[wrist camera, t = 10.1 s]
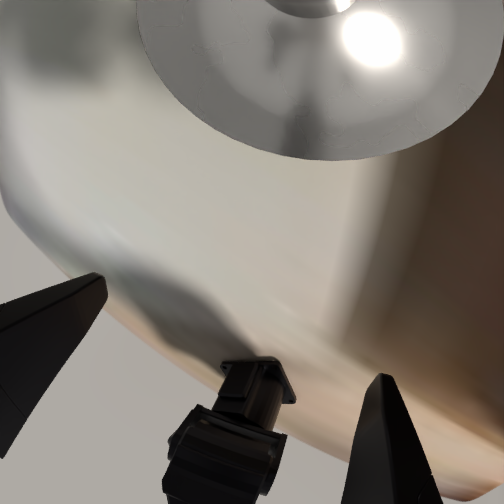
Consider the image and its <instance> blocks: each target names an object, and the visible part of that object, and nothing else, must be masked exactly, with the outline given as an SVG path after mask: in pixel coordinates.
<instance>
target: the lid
mask: <svg viewBox="0 0 504 504" xmlns="http://www.w3.org/2000/svg"><path fill="white" fill-rule="evenodd" d="M136 5H137V20H138V25H139V31H140V36H141V39H142V42H143V45H144V48H145V51H146V53H147V55H148V57H149V59H150V61H151V63H152V65H153V67H154V69H155V71H156V73H157V74H158V76H159V77H160V78H161V80H162V81H163V83H164V84H165V86H166V87H167V88H168V89H169V91H170V92H171V93H172V94H173V95H174V96H175V97H176V98H177V99H178V101H179V102H180V103H181V104H183V105H184V106H185V107H186V108H187V109H188V110H189V111H191V112H192V113H193V114H194V115H195V116H196V117H198V118H199V119H201V120H202V121H204V122H205V123H207V124H208V125H209V126H211V127H212V128H214V129H215V130H217V131H219V132H221V133H223V134H225V135H227V136H229V137H231V138H232V139H234V140H237V141H239V142H242V143H244V144H247V145H249V146H252V147H254V148H257V149H260V150H264V151H267V152H271V153H275V154H278V155H282V156H288V157H295V158H301V159H307V160H326V161H339V160H357V159H364V158H369V157H375V156H381V155H386V154H389V153H392V152H395V151H399V150H402V149H405V148H409V147H411V146H413V145H415V144H417V143H420V142H422V141H424V140H426V139H428V138H431V137H432V136H434V135H435V134H437V133H439V132H440V131H442V130H443V129H445V128H446V127H448V126H450V125H451V124H452V123H453V122H455V121H456V120H457V119H458V118H459V117H460V116H461V115H463V114H464V113H465V112H466V111H467V110H468V109H469V108H470V107H471V106H472V104H473V103H474V102H475V101H476V100H477V98H478V97H479V96H480V95H481V93H482V92H483V90H484V89H485V87H486V85H487V84H488V82H489V80H490V78H491V76H492V75H493V73H494V70H495V67H496V64H497V62H498V59H499V56H500V52H501V47H502V41H503V35H504V10H503V4H502V0H136Z"/></svg>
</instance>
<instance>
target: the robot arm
mask: <svg viewBox="0 0 504 504" xmlns="http://www.w3.org/2000/svg"><path fill="white" fill-rule="evenodd" d="M107 298H108V291H107V286H106V280H105V277H104V276H103V275H100V274H98V273H96V272H93V273H89V274H86V275H83V276H80V277H78V278H75V279H72V280H69V281H66V282H63V283H60V284H57V285H54V286H51V287H48V288H45V289H43V290H40V291H37V292H34V293H31V294H29V295H26V296H23V297H20V298H17V299H14V300H12V301H9V302H7V303H6V304H5V303H3V304H0V458H1V459H3V458H4V457H5V455H6V453H7V451H8V450H9V448H10V447H11V445H12V443H13V441H14V440H15V438H16V437H17V435H18V433H19V432H20V430H21V428H22V427H23V425H24V424H25V422H26V420H27V418H28V417H29V416H30V414H31V412H32V411H33V409H34V408H35V406H36V405H37V403H38V402H39V400H40V399H41V397H42V396H43V394H44V393H45V391H46V390H47V388H48V387H49V385H50V384H51V383H52V381H53V380H54V378H55V377H56V375H57V374H58V372H59V371H60V370H61V368H62V367H63V365H64V364H65V363H66V361H67V360H68V358H69V357H70V355H71V354H72V353H73V351H74V350H75V349H76V347H77V346H78V345H79V343H80V342H81V340H82V339H83V338H84V336H85V335H86V333H87V332H88V330H89V329H90V327H91V325H92V324H93V322H94V320H95V319H96V317H97V315H98V314H99V312H100V310H101V309H102V307H103V306H104V304H105V303H106V301H107ZM220 367H221V369H222V371H223V372H224V374H225V376H226V378H225V380H224V382H223V384H222V386H221V388H220V390H219V392H218V398H217V400H216V402H215V404H214V406H213V407H212V410H209V409H207V408H204V407H203V406H202V405H199V404H197V405H196V407H195V408H194V409H193V410H191V411H190V413H189V414H188V416H187V417H186V418H185V420H184V421H183V422H182V424H181V425H180V427H179V428H178V429H177V430H176V431H175V432H174V433H173V434H172V435H171V436H170V437H169V439H168V444H169V446H170V447H169V452H168V460H170V464H169V466H168V468H167V471H166V473H165V475H164V477H163V479H162V490H163V493H165V494H166V495H167V500H168V504H255V503H256V500H257V498H258V496H259V494H260V495H264V496H266V495H267V494H268V492H269V490H270V488H271V486H272V484H273V482H274V479H275V477H276V474H277V471H278V468H279V464H280V461H281V457H282V454H283V450H284V447H285V443H286V439H287V436H288V435H286V434H283V433H282V434H279V433H276V432H273V431H272V430H273V427H274V424H275V422H276V419H277V416H278V413H279V410H280V407H281V404H294V403H296V396H295V394H294V392H293V390H292V388H291V385H290V383H289V381H288V379H287V377H286V375H285V372H284V370H283V368H282V366H281V364H280V363H279V362H277V361H259V362H226V361H224V362H222V363H221V365H220ZM431 474H432V472H431V469H430V467H429V464H428V461H427V458H426V456H425V453H424V451H423V448H422V445H421V443H420V440H419V438H418V435H417V433H416V430H415V428H414V425H413V423H412V420H411V418H410V415H409V413H408V411H407V408H406V406H405V404H404V401H403V399H402V397H401V394H400V392H399V390H398V387H397V385H396V383H395V380H394V378H393V377H392V376H391V375H388V374H384V373H379V374H378V375H377V376H376V378H375V379H374V380H373V382H372V383H371V384H370V386H369V387H368V389H367V391H366V393H365V397H364V401H363V405H362V409H361V413H360V417H359V421H358V424H357V428H356V432H355V435H354V439H353V445H352V450H351V456H350V462H349V467H348V472H347V478H346V482H345V487H344V491H343V496H342V500H341V504H443V501H442V499H441V496H440V494H439V491H438V488H437V486H436V483H435V480H434V477H433V475H431Z"/></svg>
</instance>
